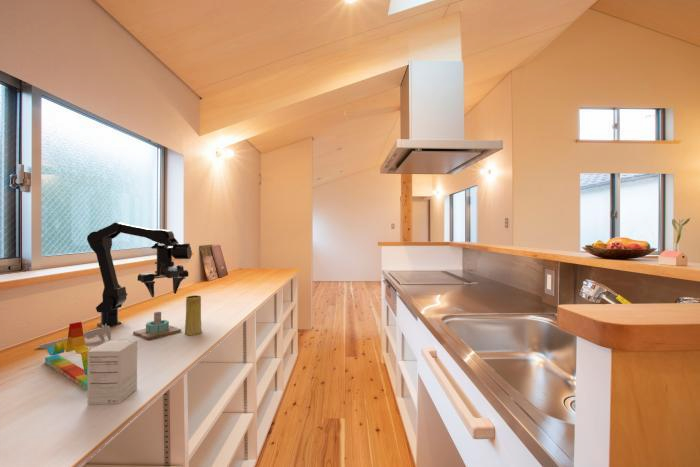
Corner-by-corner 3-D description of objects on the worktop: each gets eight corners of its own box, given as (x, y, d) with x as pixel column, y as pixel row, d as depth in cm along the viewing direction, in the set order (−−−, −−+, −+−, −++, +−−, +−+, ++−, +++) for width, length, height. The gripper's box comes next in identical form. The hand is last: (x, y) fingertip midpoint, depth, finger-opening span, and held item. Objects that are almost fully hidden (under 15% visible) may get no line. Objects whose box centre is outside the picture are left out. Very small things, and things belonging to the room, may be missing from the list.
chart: (43, 363, 96) (44, 314, 96) (57, 360, 98) (57, 312, 98) (86, 392, 80) (86, 333, 80) (101, 387, 83) (101, 329, 82)
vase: (205, 331, 127) (205, 295, 127) (193, 336, 121) (193, 298, 121) (193, 329, 129) (193, 294, 129) (180, 334, 123) (181, 297, 123)
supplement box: (107, 389, 81) (107, 340, 81) (137, 388, 82) (138, 339, 81) (85, 405, 74) (86, 351, 73) (119, 404, 74) (120, 350, 74)
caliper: (110, 339, 117) (111, 322, 117) (110, 340, 116) (110, 323, 116) (35, 349, 107) (35, 330, 107) (34, 350, 106) (34, 331, 106)
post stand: (133, 334, 123) (133, 313, 122) (165, 326, 133) (165, 307, 133) (148, 340, 116) (148, 318, 116) (181, 331, 126) (181, 311, 126)
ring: (142, 331, 123) (143, 323, 123) (162, 326, 129) (162, 319, 129) (152, 334, 119) (152, 326, 119) (171, 329, 125) (171, 322, 125)
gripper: (150, 262, 124) (150, 301, 125) (195, 258, 140) (195, 294, 140) (137, 260, 130) (136, 298, 131) (181, 257, 146) (181, 291, 146)
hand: (164, 295), depth 137 cm, fingers open, 9 cm apart
